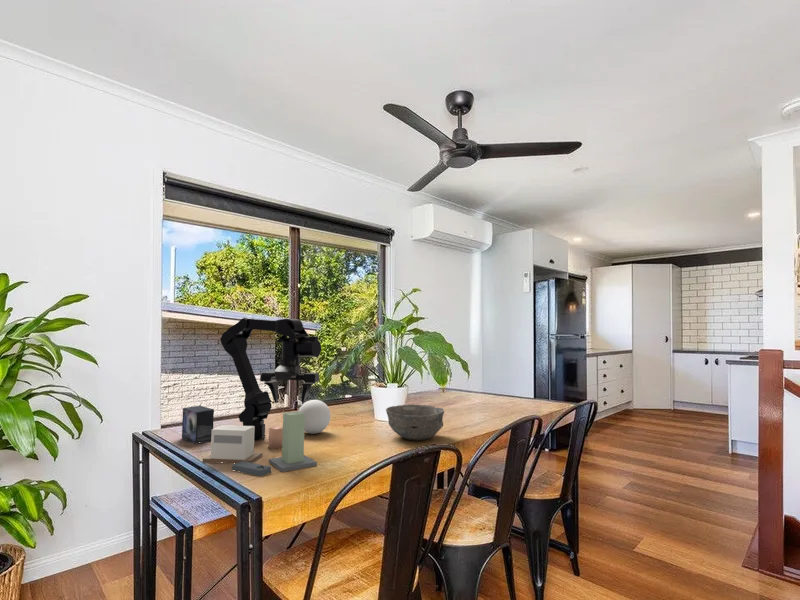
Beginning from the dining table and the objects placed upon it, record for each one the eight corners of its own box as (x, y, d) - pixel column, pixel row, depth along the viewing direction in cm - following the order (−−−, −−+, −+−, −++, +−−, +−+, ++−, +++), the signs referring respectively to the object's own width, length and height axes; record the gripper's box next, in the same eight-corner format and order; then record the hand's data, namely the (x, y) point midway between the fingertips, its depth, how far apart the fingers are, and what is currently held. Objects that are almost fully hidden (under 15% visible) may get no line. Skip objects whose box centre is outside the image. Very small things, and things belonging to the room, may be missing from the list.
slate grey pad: (268, 462, 124) (268, 458, 124) (302, 457, 130) (302, 453, 130) (281, 472, 116) (281, 468, 116) (316, 465, 122) (316, 461, 122)
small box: (180, 438, 150) (181, 407, 151) (198, 435, 155) (200, 405, 156) (194, 444, 143) (196, 411, 144) (213, 440, 148) (215, 408, 149)
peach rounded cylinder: (265, 448, 139) (266, 429, 139) (272, 444, 144) (272, 425, 144) (281, 449, 138) (281, 429, 139) (286, 445, 143) (287, 426, 144)
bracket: (242, 468, 120) (242, 460, 121) (271, 473, 116) (271, 466, 116) (231, 472, 117) (231, 464, 117) (261, 478, 112) (261, 470, 112)
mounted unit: (202, 462, 124) (203, 429, 124) (217, 454, 132) (218, 423, 132) (250, 464, 122) (251, 431, 123) (262, 456, 130) (263, 425, 131)
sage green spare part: (281, 459, 123) (283, 412, 124) (296, 457, 126) (298, 411, 127) (288, 463, 120) (289, 415, 121) (303, 461, 123) (304, 413, 123)
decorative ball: (331, 429, 167) (332, 397, 167) (328, 437, 155) (329, 402, 156) (299, 429, 166) (300, 397, 167) (294, 437, 154) (295, 402, 155)
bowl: (377, 442, 148) (378, 412, 149) (394, 429, 168) (395, 403, 169) (438, 447, 143) (438, 416, 143) (448, 433, 162) (448, 406, 163)
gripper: (253, 357, 141) (251, 406, 140) (310, 358, 139) (309, 408, 138) (267, 355, 152) (266, 401, 151) (320, 356, 150) (319, 402, 149)
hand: (289, 403), depth 147 cm, fingers open, 9 cm apart
